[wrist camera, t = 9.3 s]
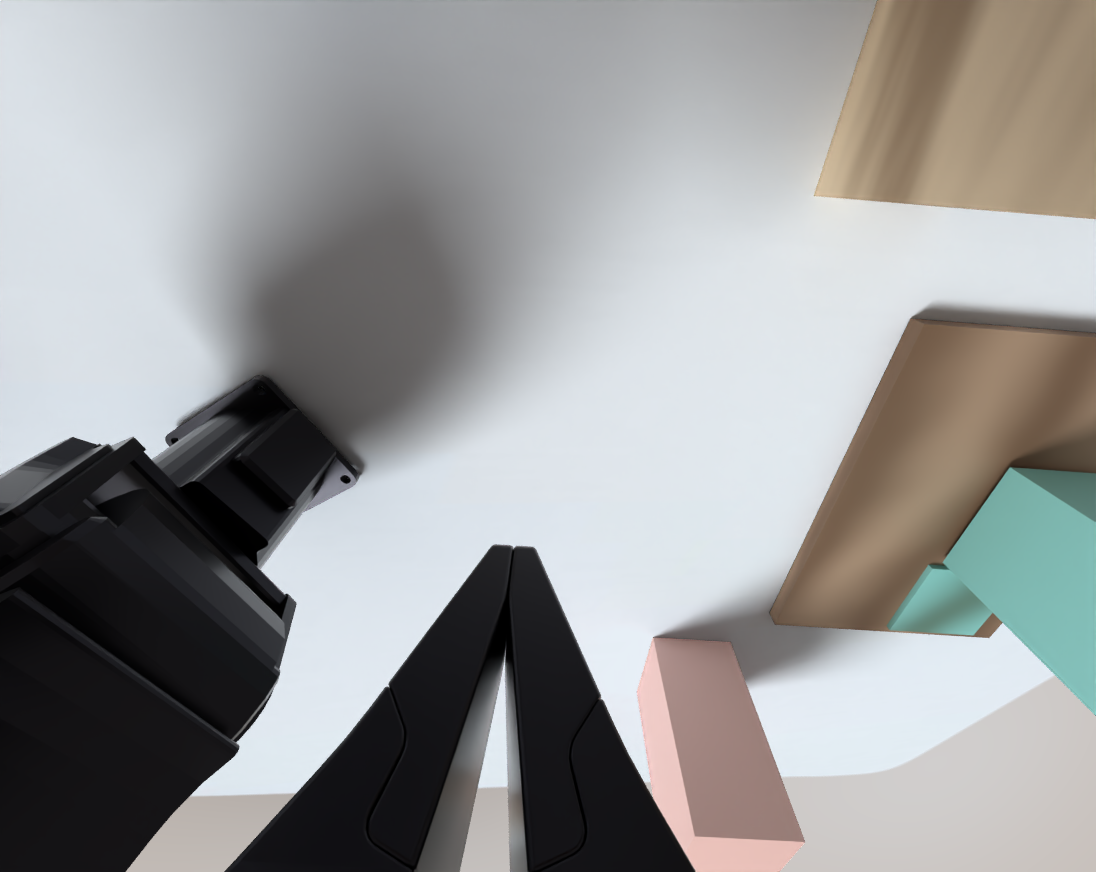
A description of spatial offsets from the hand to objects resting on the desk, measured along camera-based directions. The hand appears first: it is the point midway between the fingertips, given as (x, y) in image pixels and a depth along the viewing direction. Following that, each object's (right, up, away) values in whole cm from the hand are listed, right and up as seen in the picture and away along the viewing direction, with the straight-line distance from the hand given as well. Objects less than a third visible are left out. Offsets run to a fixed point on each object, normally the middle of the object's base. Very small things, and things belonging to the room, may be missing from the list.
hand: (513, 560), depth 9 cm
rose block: (+10, -13, +21) cm, 27 cm away
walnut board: (+21, -1, +14) cm, 25 cm away
